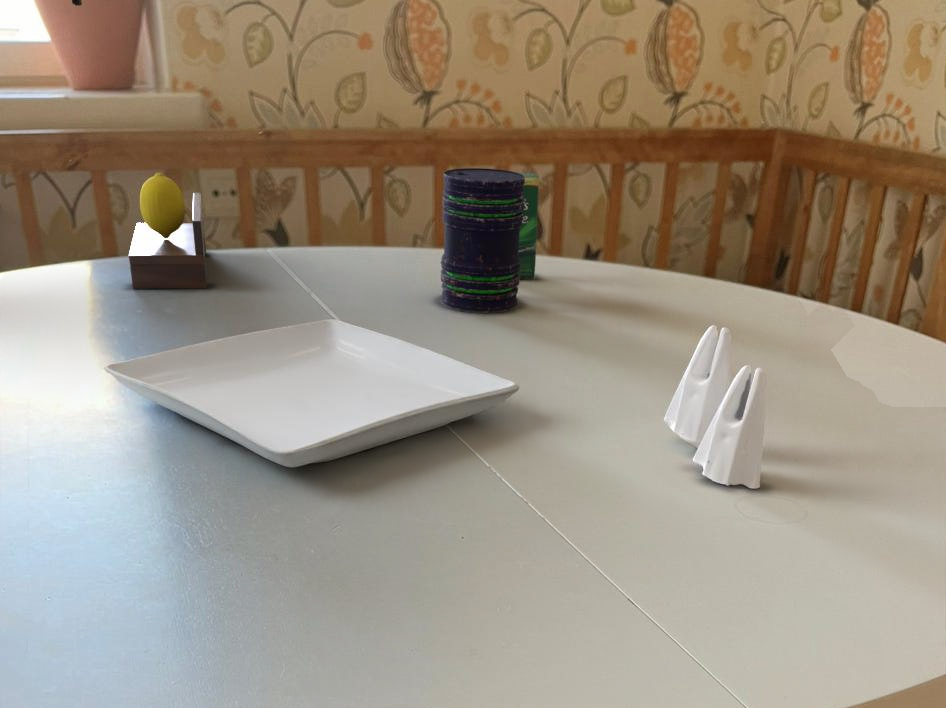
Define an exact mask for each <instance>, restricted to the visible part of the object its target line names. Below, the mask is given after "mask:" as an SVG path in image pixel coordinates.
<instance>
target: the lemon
mask: <svg viewBox="0 0 946 708" xmlns="http://www.w3.org/2000/svg"><path fill="white" fill-rule="evenodd" d="M139 209H140V213H141V217H142V219H143V221H144V223H146V224H147V226H148V227H149V228H150V229H152V230H153V231H155V232H157V233H159V234H160V235H161V236H162V237H163V238H165V239H167V238H169V237H170V235H171V234H172V233H173V232H175V231H177V230H178V229H179V228H180V227H181V225H182V223H184V221H185V220H184V219H185V215H186V207H185V201H184V196H183V194H182V191H181V190H180V188H179V186H178V184H177V183H176V182H175V181H173V179H171V178H170V177H167V176H166V175H164V174H163V173H162V172H156V173H155V174H154V175H153V176H150V177H149V178H147V180H145V182H143V184H142V186H141V189H140V194H139Z"/></svg>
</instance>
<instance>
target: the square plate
mask: <svg viewBox="0 0 946 708" xmlns="http://www.w3.org/2000/svg"><path fill="white" fill-rule="evenodd" d="M102 368H103V370H104V371H105V372H106V373H108V374H110V375H111V376H112V377H113V378H114V379H115V380H116V381H118V382H119V383H120V384H121V385H123V386H124V387H125V388H127V389H129V390H130V391H132V392H134V393H135V394H137V395H138V396H141V397H143V398H144V399H147V400H149V401H151V402H153V403H155V404H156V405H159V406H162V407H163V408H166V409H168V410H170V411H172V412H174V413H176V414H178V415H180V416H182V417H184V418H185V419H188V420H190V421H192V422H194V423H196V424H198V425H200V426H202V427H204V428H206V429H209V430H210V431H212V432H214V433H217V434H218V435H220V436H223V437H225V438H227V439H229V440H231V441H233V442H235V443H237V444H239V445H241V446H243V447H244V448H246V449H248V450H249V451H251V452H253V453H255V454H256V455H259V456H261V457H262V458H264V459H267V460H269V461H271V462H274V463H276V464H277V465H280V466H282V467H287V468H297V467H302V466H305V465H309V464H318V463H319V464H320V463H325V462H330V461H333V460H337V459H340V458H344V457H346V456H351V455H353V454H357V453H360V452H363V451H366V450H369V449H372V448H376V447H378V446H382V445H385V444H389V443H391V442H394V441H398V440H401V439H404V438H407V437H412V436H414V435H418V434H421V433H425V432H428V431H432V430H435V429H438V428H441V427H444V426H446V425H448V424H450V423H452V422H456V421H459V420H463V419H465V418H468V417H471V416H474V415H477V414H479V413H480V414H481V413H483V412H485V411H488V410H490V409H493V408H495V407H497V406H499V405H500V404H502V403H504V402H506V400H508V399H509V398H510V397H512V396H513V395H514V394H515V393H517V392H518V391H519V390H520V385H519V384H517V383H516V382H514V381H512V380H509V379H506V378H503V377H501V376H498V375H495V374H493V373H490V372H487V371H484V370H483V369H479V368H477V367H474V366H472V365H469V364H466V363H464V362H463V361H459V360H457V359H454V358H452V357H450V356H447V355H444V354H441V353H439V352H436V351H433V350H430V349H428V348H425V347H422V346H419V345H417V344H414V343H411V342H408V341H405V340H403V339H400V338H396V337H393V336H390V335H387V334H384V333H380V332H378V331H374V330H371V329H368V328H364V327H361V326H357V325H354V324H351V323H348V322H345V321H342V320H338V319H334V318H333V319H331V318H330V319H329V318H328V319H324V320H318V321H313V322H307V323H300V324H294V325H289V326H288V325H287V326H282V327H276V328H270V329H264V330H258V331H253V332H247V333H243V334H237V335H233V336H227V337H223V338H218V339H214V340H208V341H204V342H199V343H195V344H191V345H185V346H181V347H178V348H173V349H170V350H169V349H168V350H165V351H161V352H156V353H152V354H149V355H144V356H140V357H136V358H132V359H127V360H123V361H118V362H114V363H113V362H112V363H109V364H106V365H104V366H103V367H102Z"/></svg>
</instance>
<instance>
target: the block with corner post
mask: <svg viewBox="0 0 946 708" xmlns="http://www.w3.org/2000/svg"><path fill="white" fill-rule="evenodd" d="M202 202H203V201H202V193H201V192H193V193H192V223H191V222H190V223H185V222H183V223H182V225H181V227H180V228H179V229H178V230H177V231H175V232H173V233H172V234H171V235H170V237H169V238H167V239H165V238H163V237H162V236H161V235H160V234H159V233H157V232H155V231H153V230H152V229H150V228H149V227H148V226H147V224H146V223H145V222H144V223H143V222H142V223H141V222H137V223H136V226H135V230H134V233H133V237H132V240H131V245H130V250H129V253H128V261H129V271H130V275H131V276H130V277H131V284H132V285H131V286H132V289H133V290H135V289H136V290H137V289H140V290H141V289H142V290H143V289H144V290H145V289H146V290H147V289H207V288H208V282H207V281H208V280H207V271H206V269H207V268H206V256H207V246H206V236H205V226H204V213H203V203H202Z"/></svg>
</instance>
